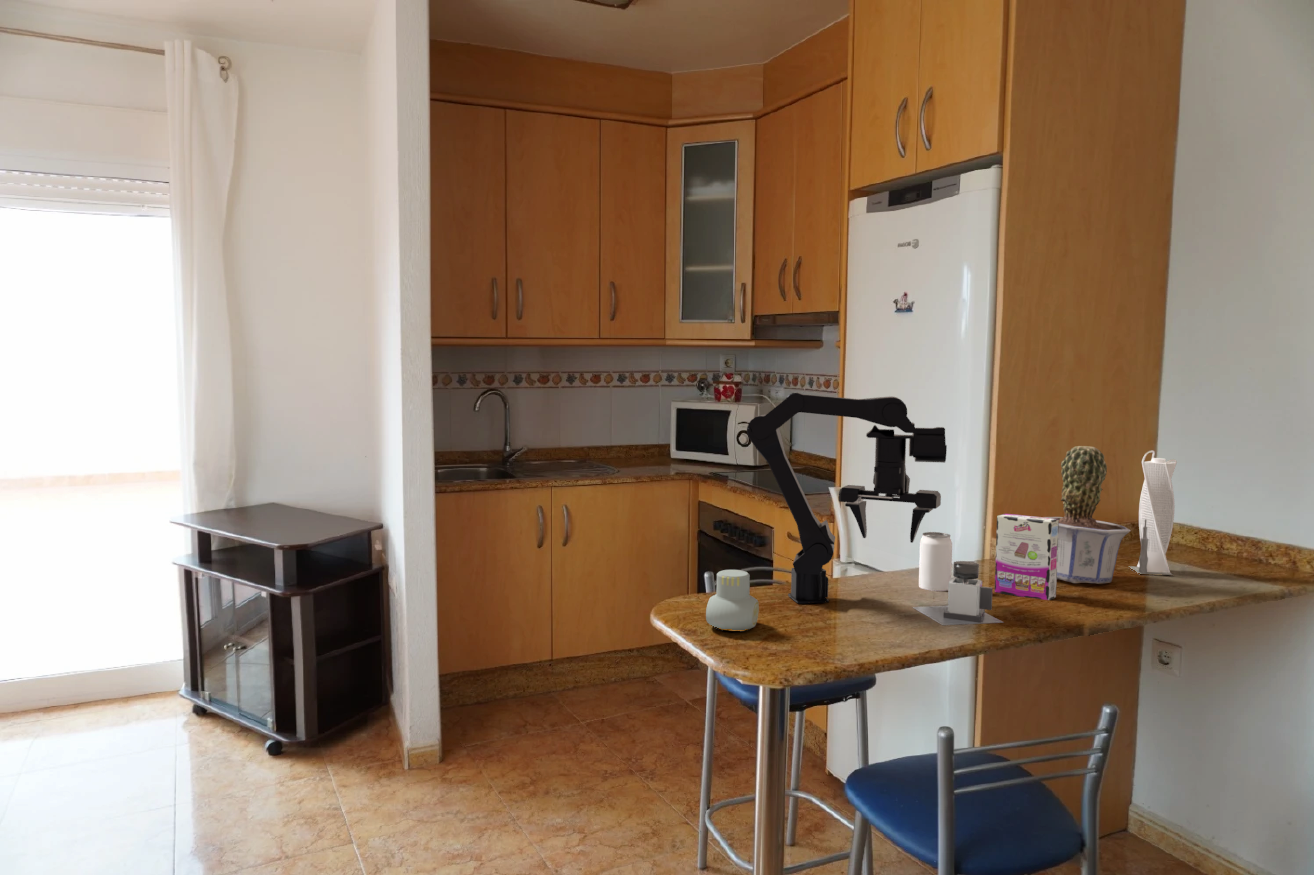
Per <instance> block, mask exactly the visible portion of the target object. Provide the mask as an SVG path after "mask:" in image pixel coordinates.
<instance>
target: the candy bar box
mask: <svg viewBox="0 0 1314 875" xmlns="http://www.w3.org/2000/svg"><path fill="white" fill-rule="evenodd" d="M1043 517H1044V516H1043ZM1043 517H1041V516H1033V515H1031V516H1030V515H1022V514H1014V513H1012V514H1011V513H1003V514H999V515H997V517H996V534H995V536H996V538H995V565H994V566H995V568H994V570H995V571H994V574H995V575H994V593H998V594H1002V595H1007V596H1013V595H1014V596H1015V597H1020V598H1027V599H1036V600H1045V601H1051V600H1054V599H1055V598H1056V597H1057V582H1058V581H1057V580H1058V579H1057V554H1058V527H1059V519H1051V518H1043Z"/></svg>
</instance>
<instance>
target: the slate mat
mask: <svg viewBox="0 0 1314 875" xmlns="http://www.w3.org/2000/svg"><path fill="white" fill-rule="evenodd" d="M947 607H948V605H932V606H930V605H928V606H913V607H912V606H911V608H912V609H914V610H915V611H918V612H919V613H921V614H923V616H926V617H927V618H929V619H931V620H933V621H934V622H936V623H938V624H940V625H941V626H959V625H960V626H961V625H981V624H998V623H999V624H1000V623H1001V624H1002V623H1005V622H1004V621H1002V620H1000V619H998V618H996V617H994V616H993V615H991V614H989V613H987V612H985V614H984V616H983V618H982V620H981V622H972V621H965V620H957V619H949V618H944V611H945V610H946V608H947Z"/></svg>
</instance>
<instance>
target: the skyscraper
mask: <svg viewBox="0 0 1314 875" xmlns="http://www.w3.org/2000/svg"><path fill="white" fill-rule="evenodd" d="M1149 453H1150V454H1151V453H1152V455H1151V459H1150V460H1147V461H1145V460H1146V457H1147V455H1148V454H1149ZM1155 454H1156V451H1155V450H1152V449H1151V450H1148V451H1147V452H1145V453H1144V456H1143V457H1142V459H1141V466H1142V472H1143V475H1144V480H1143V484H1142V488H1141V492H1140V497H1139V504H1138V527H1139V528H1138V529H1139V530H1138V531H1139V539H1140V553H1139V554H1140V555H1139V557H1138V559H1139V560H1138V563H1137V565H1136V566H1135V565H1134V566H1132V565H1130V566H1128V567H1130V568H1131V569H1133V570H1135V571H1136V572H1137V574H1138V573H1140V574H1162V575H1173V576H1174V574H1173V573H1171V571H1170V567H1169V563H1168V561H1167V560H1168V559H1167V556H1166V555H1167V551H1168V547H1169V544H1170V540H1171V538H1172V537H1171V536H1172V533H1173V527H1174V521H1175V506H1176V505H1175V494H1174V486H1173V482H1172V477H1173V475H1174V472H1175V470H1176V466H1177V463H1178V462H1177V460H1176V459H1174V458H1173V459H1169V460H1167V459H1166V458H1164V457H1155ZM1166 460H1167V461H1166ZM1131 569H1130V570H1131ZM1133 570H1132V571H1133ZM1136 572H1135V573H1136ZM1140 574H1139V575H1140Z"/></svg>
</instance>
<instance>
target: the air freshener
mask: <svg viewBox="0 0 1314 875" xmlns="http://www.w3.org/2000/svg"><path fill="white" fill-rule="evenodd" d="M750 577H751V576H750V573H748V572H747V571H746V570H745V571H744V570H742V569H741V570H740V569H724V570H720V571H718V572H717V573H716V591H715V592H716V593H715V594H713V595H712V596H710V597H709V599H708V602H707V605H706V609H705V620H706V622H707V624H709V626H711V625H712V626H711V627H713V626H714V628H715V627H717V628H721V629H732V630H745V629H749V630H750V629H752V628H755V627H756V625H757V622H758V618H759V610H760V606H759V601H758V599H756V598H755V597H754V596H752V595H751V594H750V588H751V587H750V586H751V585H750V581H751V580H750V579H751V578H750ZM717 628H716V629H717Z"/></svg>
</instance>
